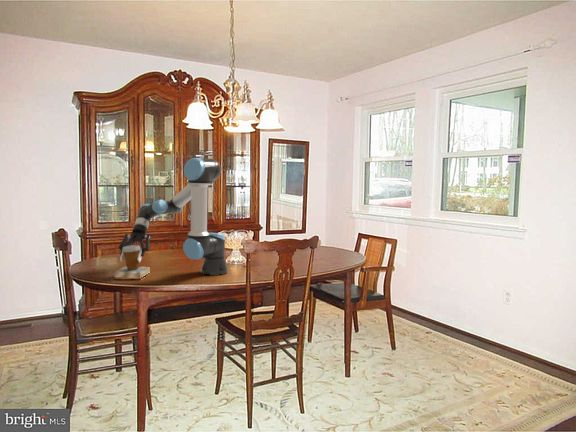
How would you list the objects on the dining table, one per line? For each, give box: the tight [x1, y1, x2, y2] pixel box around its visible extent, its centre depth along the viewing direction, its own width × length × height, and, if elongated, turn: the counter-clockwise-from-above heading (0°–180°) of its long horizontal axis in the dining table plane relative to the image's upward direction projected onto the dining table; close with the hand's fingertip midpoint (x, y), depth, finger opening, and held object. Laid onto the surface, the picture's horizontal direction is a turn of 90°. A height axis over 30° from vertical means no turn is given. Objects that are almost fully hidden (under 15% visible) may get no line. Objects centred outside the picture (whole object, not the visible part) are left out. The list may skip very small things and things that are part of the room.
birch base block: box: [113, 265, 151, 278], centre depth 233 cm, size 14×14×4 cm
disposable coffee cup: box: [122, 244, 142, 270], centre depth 231 cm, size 10×10×12 cm
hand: (129, 260), depth 229 cm, fingers closed on disposable coffee cup, 9 cm apart
